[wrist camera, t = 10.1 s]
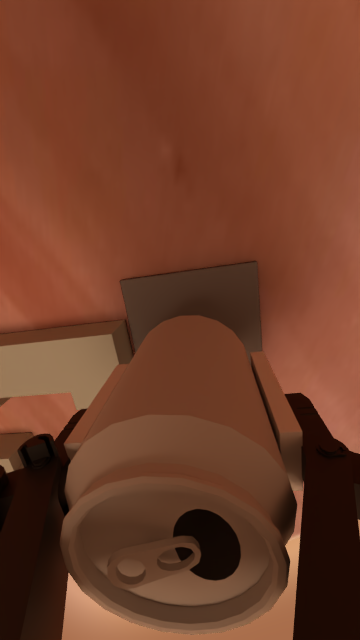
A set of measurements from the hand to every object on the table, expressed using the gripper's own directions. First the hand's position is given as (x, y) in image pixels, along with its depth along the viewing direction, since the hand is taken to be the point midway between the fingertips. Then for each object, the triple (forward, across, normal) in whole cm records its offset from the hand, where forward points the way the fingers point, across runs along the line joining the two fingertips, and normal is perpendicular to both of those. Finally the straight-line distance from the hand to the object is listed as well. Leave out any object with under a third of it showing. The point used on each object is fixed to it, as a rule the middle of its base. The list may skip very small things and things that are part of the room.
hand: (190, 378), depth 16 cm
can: (+2, 0, 0) cm, 2 cm away
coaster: (+7, 0, 0) cm, 7 cm away
